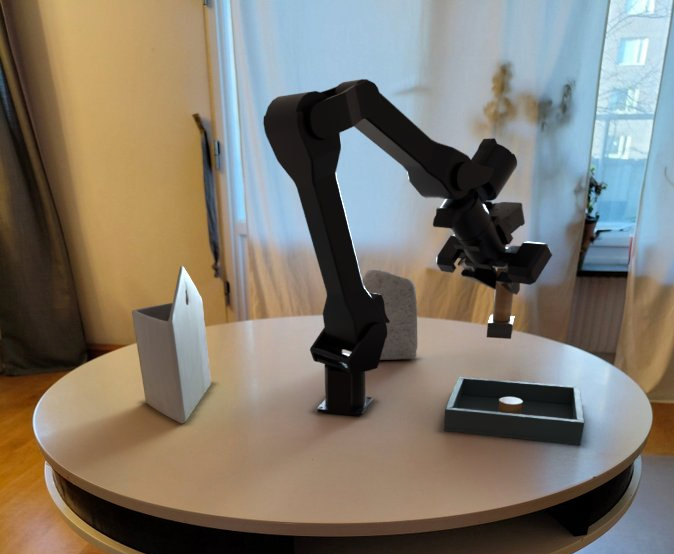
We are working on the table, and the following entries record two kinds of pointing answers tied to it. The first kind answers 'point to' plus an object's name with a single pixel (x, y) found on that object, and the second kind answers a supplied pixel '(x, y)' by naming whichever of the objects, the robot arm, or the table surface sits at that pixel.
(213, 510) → the table surface
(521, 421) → the tray
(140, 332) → the planter
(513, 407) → the orange brown short cylinder
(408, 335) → the decorative stone
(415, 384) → the table surface
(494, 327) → the brush
